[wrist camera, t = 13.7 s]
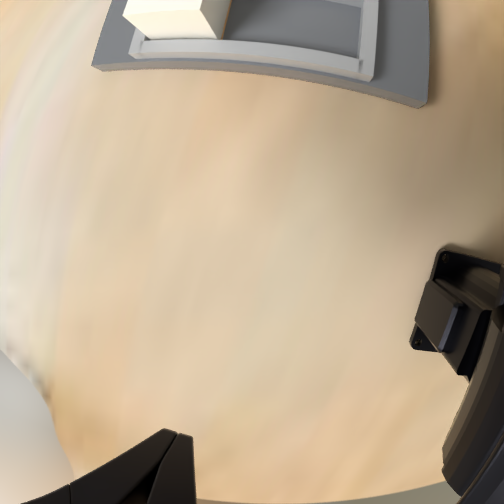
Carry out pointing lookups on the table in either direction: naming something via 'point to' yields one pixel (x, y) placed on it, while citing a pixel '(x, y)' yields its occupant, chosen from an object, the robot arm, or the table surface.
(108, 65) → the switch bank
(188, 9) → the tab
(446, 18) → the table surface
